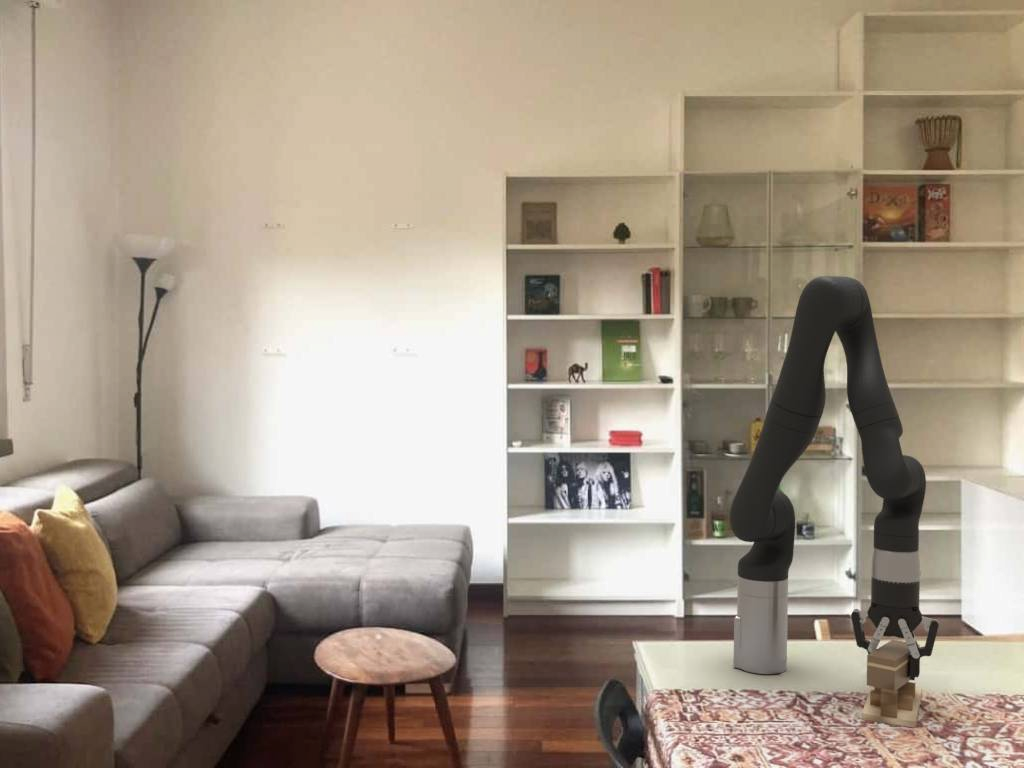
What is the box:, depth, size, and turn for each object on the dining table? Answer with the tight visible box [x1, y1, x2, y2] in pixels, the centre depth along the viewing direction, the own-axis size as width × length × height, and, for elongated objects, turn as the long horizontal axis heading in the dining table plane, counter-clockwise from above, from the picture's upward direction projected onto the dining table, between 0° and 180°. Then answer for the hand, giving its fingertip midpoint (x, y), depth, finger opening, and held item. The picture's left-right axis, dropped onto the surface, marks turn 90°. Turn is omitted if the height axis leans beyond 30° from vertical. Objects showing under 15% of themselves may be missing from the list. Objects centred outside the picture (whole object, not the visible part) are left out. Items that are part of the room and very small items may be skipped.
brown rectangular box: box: [866, 639, 920, 690], centre depth 162 cm, size 5×12×5 cm, turn 140°
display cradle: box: [861, 681, 923, 729], centre depth 163 cm, size 8×18×5 cm, turn 154°
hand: (893, 675), depth 162 cm, fingers closed on brown rectangular box, 5 cm apart
